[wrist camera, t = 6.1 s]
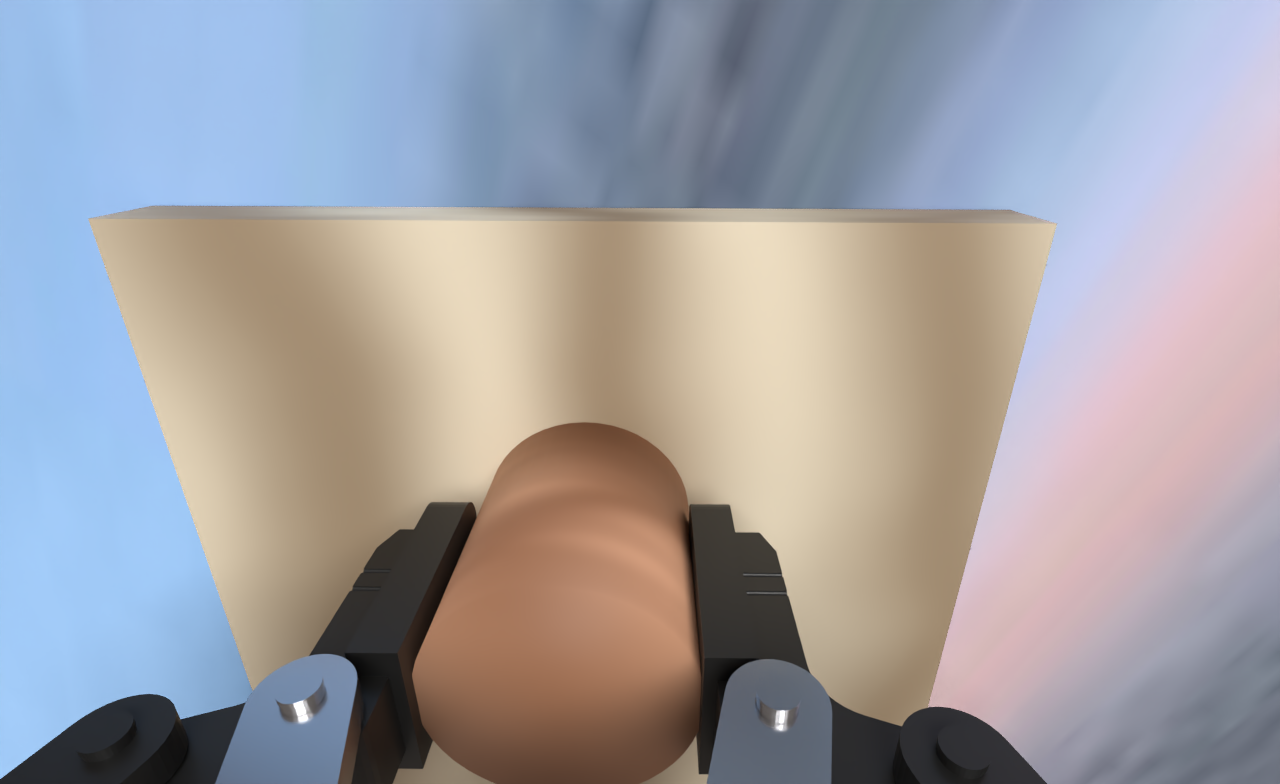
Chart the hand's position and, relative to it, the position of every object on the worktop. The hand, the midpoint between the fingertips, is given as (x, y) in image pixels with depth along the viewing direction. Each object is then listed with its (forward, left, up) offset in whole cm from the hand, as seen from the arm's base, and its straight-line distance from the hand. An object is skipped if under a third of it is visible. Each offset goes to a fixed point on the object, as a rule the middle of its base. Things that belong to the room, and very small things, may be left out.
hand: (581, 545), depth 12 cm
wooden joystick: (0, +8, -1) cm, 8 cm away
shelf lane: (0, +12, -3) cm, 13 cm away
